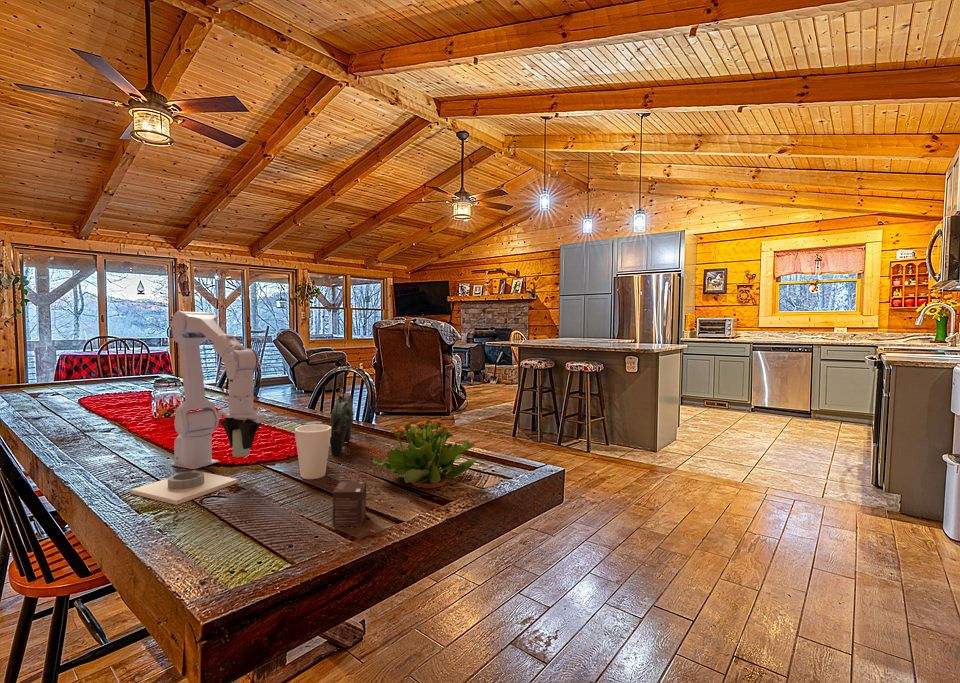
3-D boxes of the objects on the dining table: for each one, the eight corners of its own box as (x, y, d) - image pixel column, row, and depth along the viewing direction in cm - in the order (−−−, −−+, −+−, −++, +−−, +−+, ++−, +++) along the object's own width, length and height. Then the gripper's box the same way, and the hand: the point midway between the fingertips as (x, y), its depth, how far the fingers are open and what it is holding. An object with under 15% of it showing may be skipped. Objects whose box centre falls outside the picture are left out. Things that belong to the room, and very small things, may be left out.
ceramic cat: (337, 440, 165) (338, 383, 164) (356, 439, 165) (357, 384, 164) (325, 456, 145) (326, 392, 144) (346, 456, 146) (347, 392, 145)
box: (338, 514, 102) (338, 481, 102) (366, 514, 102) (366, 481, 102) (332, 526, 96) (332, 491, 96) (361, 526, 96) (362, 491, 96)
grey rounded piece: (228, 455, 121) (228, 430, 120) (242, 451, 124) (242, 427, 124) (240, 457, 119) (240, 432, 119) (253, 453, 123) (253, 429, 122)
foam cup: (288, 474, 127) (288, 427, 126) (320, 467, 133) (320, 422, 133) (305, 483, 120) (305, 434, 120) (337, 475, 127) (337, 428, 126)
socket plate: (131, 493, 111) (130, 481, 111) (194, 473, 126) (194, 463, 126) (176, 504, 105) (176, 491, 105) (237, 482, 120) (237, 471, 120)
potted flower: (440, 463, 140) (441, 405, 140) (496, 483, 124) (498, 418, 123) (367, 481, 123) (368, 416, 122) (421, 508, 106) (423, 432, 105)
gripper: (207, 395, 120) (207, 447, 121) (248, 400, 115) (248, 454, 115) (231, 391, 127) (231, 441, 127) (271, 396, 121) (271, 447, 122)
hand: (241, 447), depth 122 cm, fingers closed on grey rounded piece, 4 cm apart
